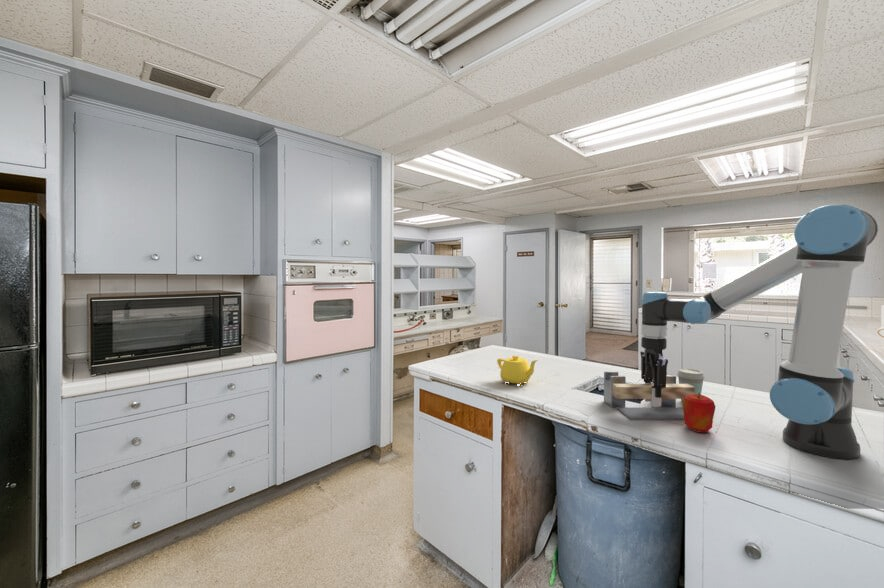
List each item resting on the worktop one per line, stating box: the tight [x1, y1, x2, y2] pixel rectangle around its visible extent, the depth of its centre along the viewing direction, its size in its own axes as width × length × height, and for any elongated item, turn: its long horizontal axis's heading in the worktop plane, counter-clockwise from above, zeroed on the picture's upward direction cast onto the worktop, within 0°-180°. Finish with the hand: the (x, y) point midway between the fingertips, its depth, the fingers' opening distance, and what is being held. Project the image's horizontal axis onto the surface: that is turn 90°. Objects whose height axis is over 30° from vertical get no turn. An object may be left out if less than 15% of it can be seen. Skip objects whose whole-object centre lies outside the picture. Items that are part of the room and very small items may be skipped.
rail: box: [612, 383, 695, 400], centre depth 128 cm, size 26×4×4 cm, turn 88°
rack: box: [603, 371, 677, 408], centre depth 138 cm, size 7×23×12 cm, turn 88°
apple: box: [681, 393, 716, 433], centre depth 115 cm, size 9×8×12 cm
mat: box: [616, 406, 684, 421], centre depth 128 cm, size 10×24×1 cm, turn 88°
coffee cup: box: [676, 368, 705, 403], centre depth 139 cm, size 8×8×12 cm
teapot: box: [496, 355, 539, 384], centre depth 168 cm, size 13×20×12 cm
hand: (652, 403), depth 128 cm, fingers closed on rail, 4 cm apart
